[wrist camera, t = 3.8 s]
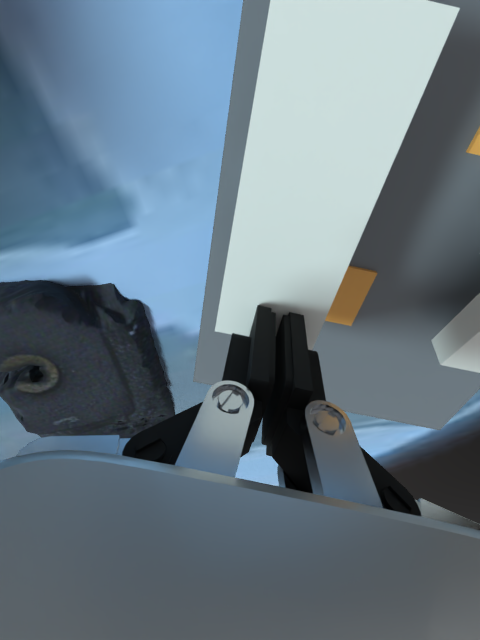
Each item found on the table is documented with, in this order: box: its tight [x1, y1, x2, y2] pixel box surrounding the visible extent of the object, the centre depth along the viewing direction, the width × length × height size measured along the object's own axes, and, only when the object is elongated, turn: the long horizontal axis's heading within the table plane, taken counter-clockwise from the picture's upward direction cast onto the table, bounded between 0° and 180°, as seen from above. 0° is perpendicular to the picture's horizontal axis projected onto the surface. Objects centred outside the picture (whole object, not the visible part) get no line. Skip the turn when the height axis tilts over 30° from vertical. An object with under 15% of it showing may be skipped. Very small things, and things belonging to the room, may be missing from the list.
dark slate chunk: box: [0, 280, 175, 439], centre depth 25 cm, size 15×22×5 cm
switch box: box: [193, 0, 480, 430], centre depth 13 cm, size 24×16×6 cm, turn 170°
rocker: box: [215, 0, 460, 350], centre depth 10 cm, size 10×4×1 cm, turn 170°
